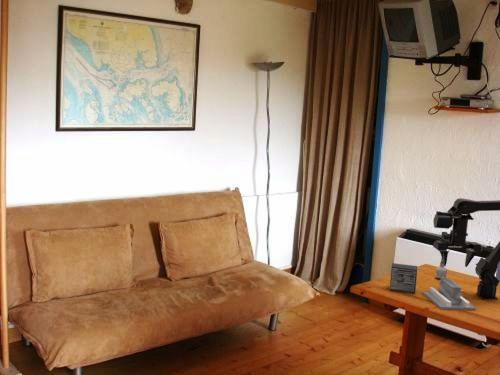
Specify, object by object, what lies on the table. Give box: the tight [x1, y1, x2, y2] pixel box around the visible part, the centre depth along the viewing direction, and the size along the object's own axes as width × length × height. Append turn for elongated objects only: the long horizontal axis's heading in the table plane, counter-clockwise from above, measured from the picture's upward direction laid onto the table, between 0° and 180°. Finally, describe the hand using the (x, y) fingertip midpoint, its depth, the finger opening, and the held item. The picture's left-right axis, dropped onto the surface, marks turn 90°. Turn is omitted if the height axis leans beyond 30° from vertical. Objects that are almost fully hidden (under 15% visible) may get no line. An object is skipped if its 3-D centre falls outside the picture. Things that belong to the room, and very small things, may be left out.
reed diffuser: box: [434, 239, 451, 279], centre depth 274 cm, size 10×7×20 cm
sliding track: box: [422, 286, 476, 311], centre depth 244 cm, size 14×18×3 cm
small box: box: [388, 262, 418, 294], centre depth 255 cm, size 11×6×10 cm, turn 74°
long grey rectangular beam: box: [438, 277, 462, 305], centre depth 243 cm, size 4×12×7 cm, turn 6°
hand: (455, 266), depth 252 cm, fingers open, 9 cm apart
